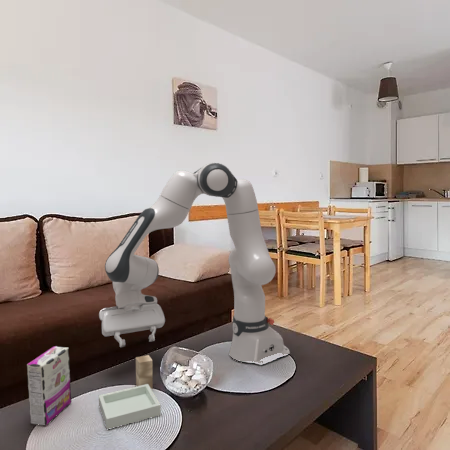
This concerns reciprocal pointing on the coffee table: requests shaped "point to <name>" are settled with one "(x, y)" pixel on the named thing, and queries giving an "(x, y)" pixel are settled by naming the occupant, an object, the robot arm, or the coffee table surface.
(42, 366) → the candy bar box
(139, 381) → the maple block
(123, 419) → the tray
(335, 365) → the coffee table surface
